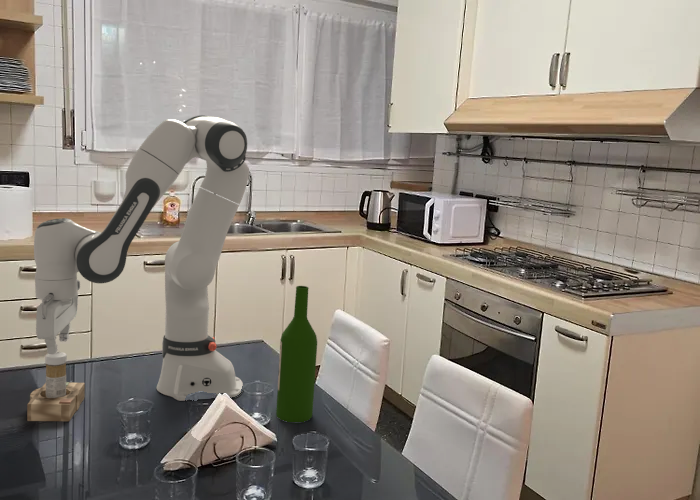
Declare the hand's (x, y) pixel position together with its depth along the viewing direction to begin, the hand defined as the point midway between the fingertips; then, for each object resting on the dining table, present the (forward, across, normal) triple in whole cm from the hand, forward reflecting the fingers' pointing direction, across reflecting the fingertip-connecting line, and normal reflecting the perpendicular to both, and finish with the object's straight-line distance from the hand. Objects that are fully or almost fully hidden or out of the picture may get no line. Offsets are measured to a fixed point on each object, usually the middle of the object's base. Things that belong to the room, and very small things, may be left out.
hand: (58, 346), depth 153 cm
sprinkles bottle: (+15, 0, +1) cm, 15 cm away
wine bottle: (+17, -3, -55) cm, 58 cm away
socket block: (+15, 0, +1) cm, 15 cm away
